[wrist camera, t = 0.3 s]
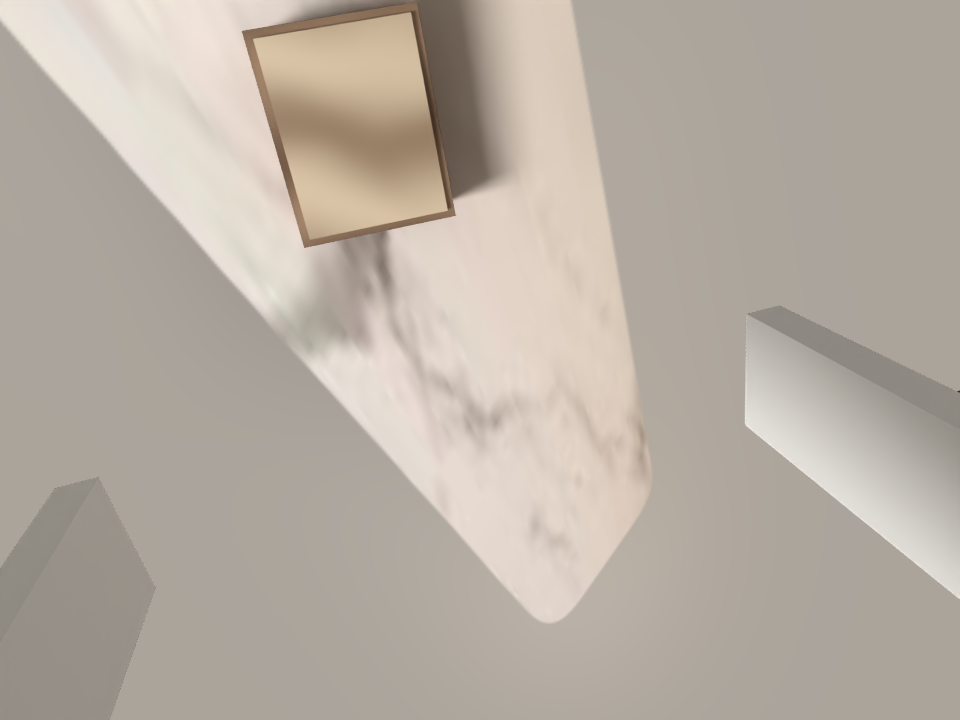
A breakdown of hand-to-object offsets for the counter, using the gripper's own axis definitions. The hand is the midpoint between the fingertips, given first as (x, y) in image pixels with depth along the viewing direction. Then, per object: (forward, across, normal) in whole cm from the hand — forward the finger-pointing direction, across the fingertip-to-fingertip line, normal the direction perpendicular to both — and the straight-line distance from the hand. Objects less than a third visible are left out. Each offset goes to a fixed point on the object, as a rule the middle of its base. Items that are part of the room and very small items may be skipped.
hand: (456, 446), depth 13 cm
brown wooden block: (+26, 0, +5) cm, 27 cm away
